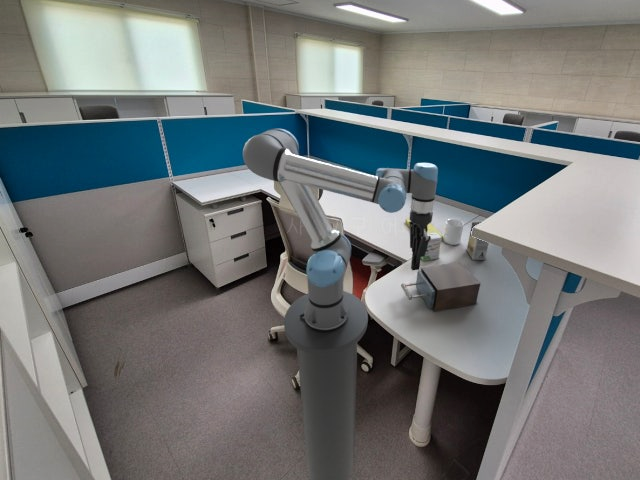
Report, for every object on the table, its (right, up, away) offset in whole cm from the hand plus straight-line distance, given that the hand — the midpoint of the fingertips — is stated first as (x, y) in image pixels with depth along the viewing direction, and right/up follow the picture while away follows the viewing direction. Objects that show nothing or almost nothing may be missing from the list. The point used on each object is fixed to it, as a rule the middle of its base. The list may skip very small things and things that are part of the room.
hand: (415, 268), depth 110 cm
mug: (+26, +6, +51) cm, 58 cm away
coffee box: (+35, 0, +39) cm, 52 cm away
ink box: (+12, -1, +35) cm, 37 cm away
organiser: (+14, -12, +10) cm, 21 cm away
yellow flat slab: (+13, +11, +60) cm, 62 cm away
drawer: (+8, -12, +8) cm, 16 cm away
